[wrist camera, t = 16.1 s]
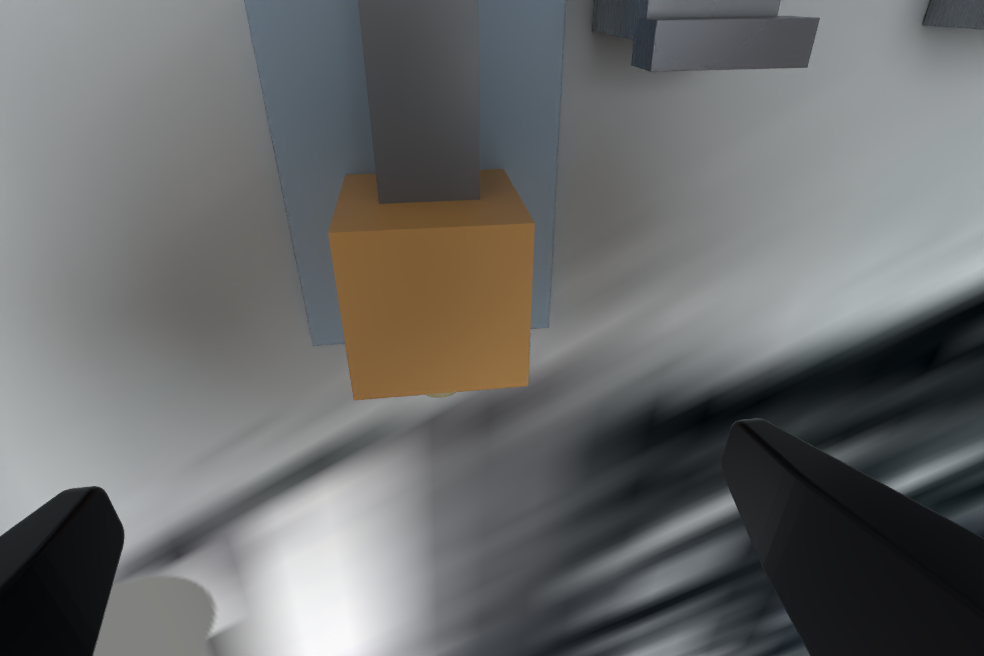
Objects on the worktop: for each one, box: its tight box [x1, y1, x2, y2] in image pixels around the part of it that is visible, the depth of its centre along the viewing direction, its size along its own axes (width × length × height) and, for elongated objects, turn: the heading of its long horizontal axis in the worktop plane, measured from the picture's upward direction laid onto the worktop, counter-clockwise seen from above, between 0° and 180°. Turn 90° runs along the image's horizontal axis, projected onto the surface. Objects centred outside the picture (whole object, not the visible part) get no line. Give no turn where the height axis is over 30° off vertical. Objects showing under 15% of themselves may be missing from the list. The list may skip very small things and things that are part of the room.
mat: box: [244, 0, 566, 346], centre depth 14 cm, size 7×13×1 cm, turn 0°
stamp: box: [328, 0, 535, 400], centre depth 12 cm, size 13×4×4 cm, turn 179°
